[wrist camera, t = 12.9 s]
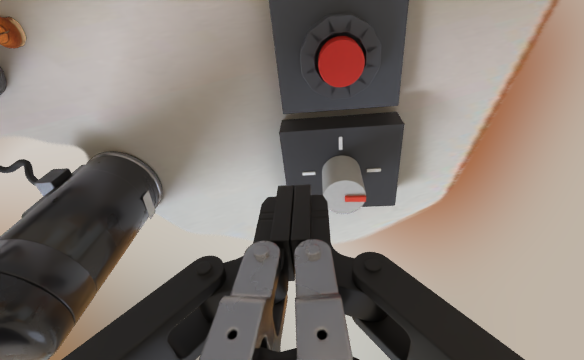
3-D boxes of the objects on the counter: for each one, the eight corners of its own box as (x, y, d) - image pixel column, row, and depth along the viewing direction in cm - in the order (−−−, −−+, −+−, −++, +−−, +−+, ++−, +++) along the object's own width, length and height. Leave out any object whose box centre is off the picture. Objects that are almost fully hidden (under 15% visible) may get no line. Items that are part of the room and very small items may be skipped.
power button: (319, 82, 26) (319, 89, 25) (316, 37, 24) (317, 42, 23) (361, 79, 26) (364, 85, 24) (362, 33, 24) (365, 37, 22)
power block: (284, 106, 31) (281, 121, 28) (271, -6, 26) (264, -3, 22) (393, 97, 30) (403, 113, 27) (404, -22, 24) (418, -21, 21)
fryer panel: (291, 194, 38) (289, 210, 35) (281, 120, 32) (278, 133, 30) (389, 189, 36) (395, 206, 34) (397, 111, 31) (404, 124, 28)
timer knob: (322, 187, 33) (323, 216, 29) (321, 155, 31) (323, 182, 27) (358, 186, 33) (364, 216, 29) (361, 154, 30) (368, 181, 27)
